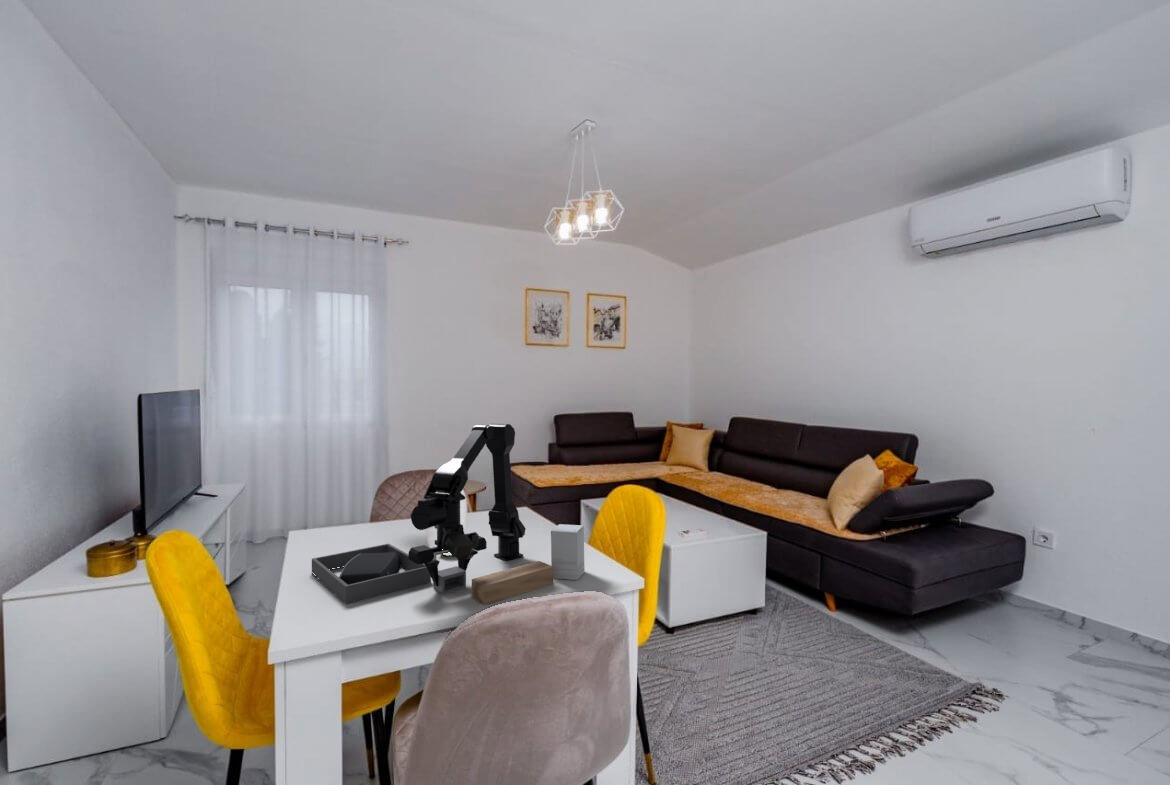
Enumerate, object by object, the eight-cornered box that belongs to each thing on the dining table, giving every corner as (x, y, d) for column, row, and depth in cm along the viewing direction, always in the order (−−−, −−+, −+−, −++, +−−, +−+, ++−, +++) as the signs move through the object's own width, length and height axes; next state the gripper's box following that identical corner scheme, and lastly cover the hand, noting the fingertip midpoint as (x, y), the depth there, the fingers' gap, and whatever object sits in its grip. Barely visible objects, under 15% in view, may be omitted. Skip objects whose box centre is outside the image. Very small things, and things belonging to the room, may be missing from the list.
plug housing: (433, 588, 132) (433, 572, 132) (456, 582, 136) (456, 566, 136) (442, 594, 128) (442, 576, 128) (466, 587, 133) (465, 570, 133)
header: (461, 591, 130) (461, 573, 130) (528, 572, 143) (528, 556, 143) (485, 605, 122) (484, 585, 122) (553, 583, 135) (553, 566, 135)
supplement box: (585, 571, 144) (584, 525, 144) (577, 580, 137) (577, 532, 137) (559, 569, 146) (559, 523, 146) (550, 578, 139) (550, 530, 139)
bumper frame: (311, 573, 144) (311, 558, 144) (388, 556, 158) (388, 543, 158) (345, 603, 123) (345, 586, 123) (430, 581, 137) (430, 566, 137)
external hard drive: (331, 591, 130) (331, 575, 130) (354, 566, 149) (354, 551, 149) (386, 588, 131) (386, 572, 131) (402, 563, 151) (402, 549, 151)
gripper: (427, 533, 120) (428, 602, 120) (498, 520, 133) (498, 582, 133) (407, 524, 129) (407, 588, 129) (475, 512, 141) (475, 571, 141)
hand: (449, 582), depth 132 cm, fingers closed on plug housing, 6 cm apart
